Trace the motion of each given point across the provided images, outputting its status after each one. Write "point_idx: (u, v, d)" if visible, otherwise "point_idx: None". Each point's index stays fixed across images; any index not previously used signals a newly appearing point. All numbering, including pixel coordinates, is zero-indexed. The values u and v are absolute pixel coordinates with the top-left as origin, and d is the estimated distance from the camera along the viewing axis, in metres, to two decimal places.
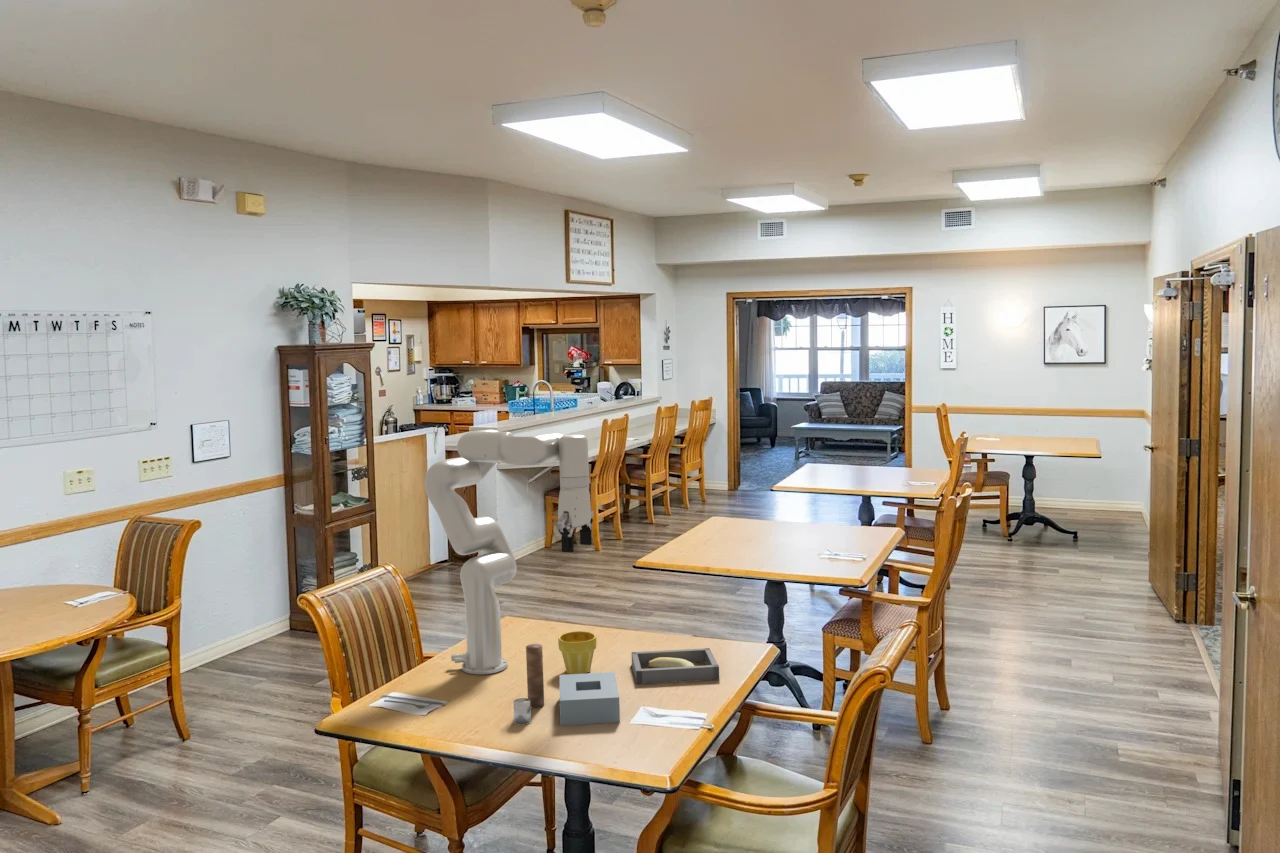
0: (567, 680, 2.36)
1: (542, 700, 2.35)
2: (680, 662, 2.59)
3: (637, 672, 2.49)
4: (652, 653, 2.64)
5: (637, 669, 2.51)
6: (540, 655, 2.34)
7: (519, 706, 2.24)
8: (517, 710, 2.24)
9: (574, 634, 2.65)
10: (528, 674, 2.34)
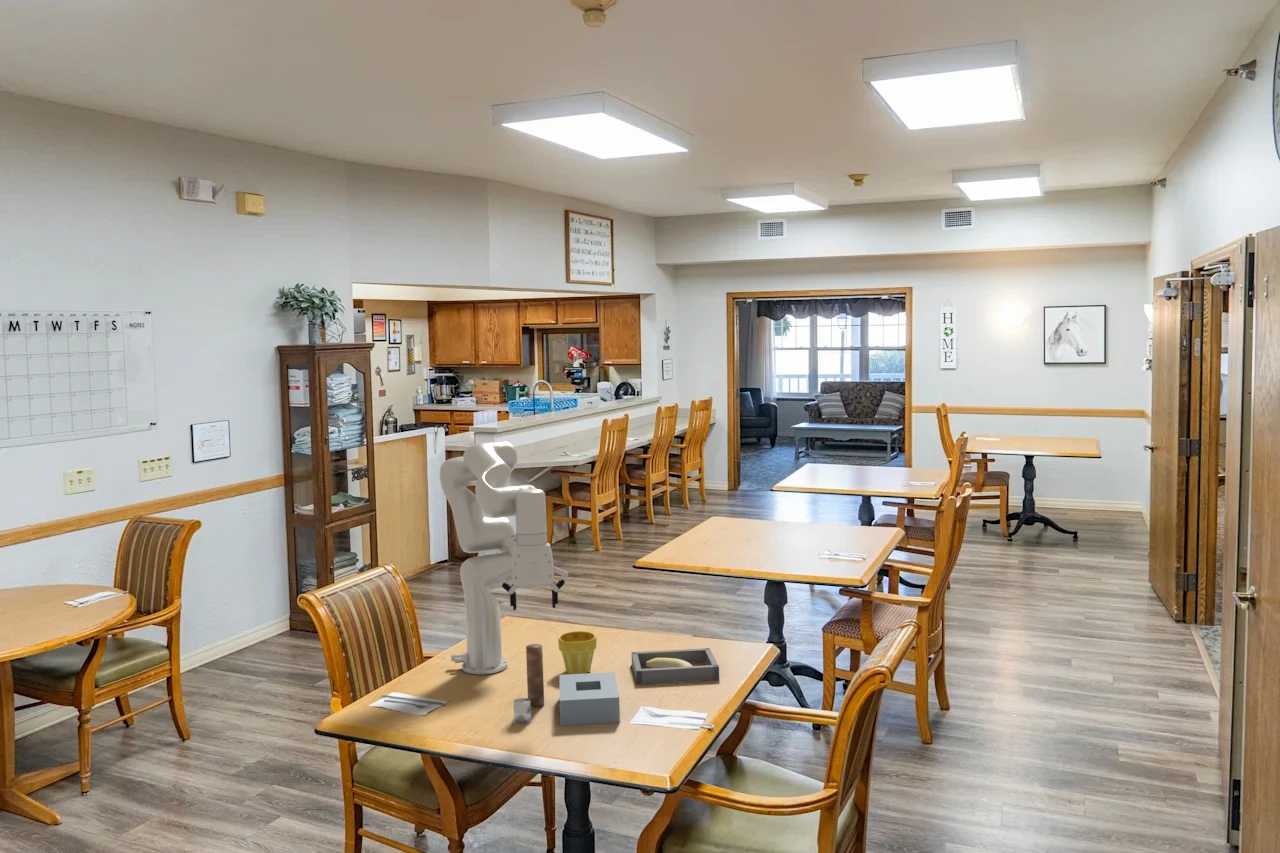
0: (567, 680, 2.36)
1: (542, 700, 2.35)
2: (678, 662, 2.58)
3: (637, 672, 2.49)
4: (652, 653, 2.64)
5: (637, 669, 2.51)
6: (540, 655, 2.34)
7: (519, 706, 2.24)
8: (517, 710, 2.24)
9: (574, 634, 2.65)
10: (528, 674, 2.34)
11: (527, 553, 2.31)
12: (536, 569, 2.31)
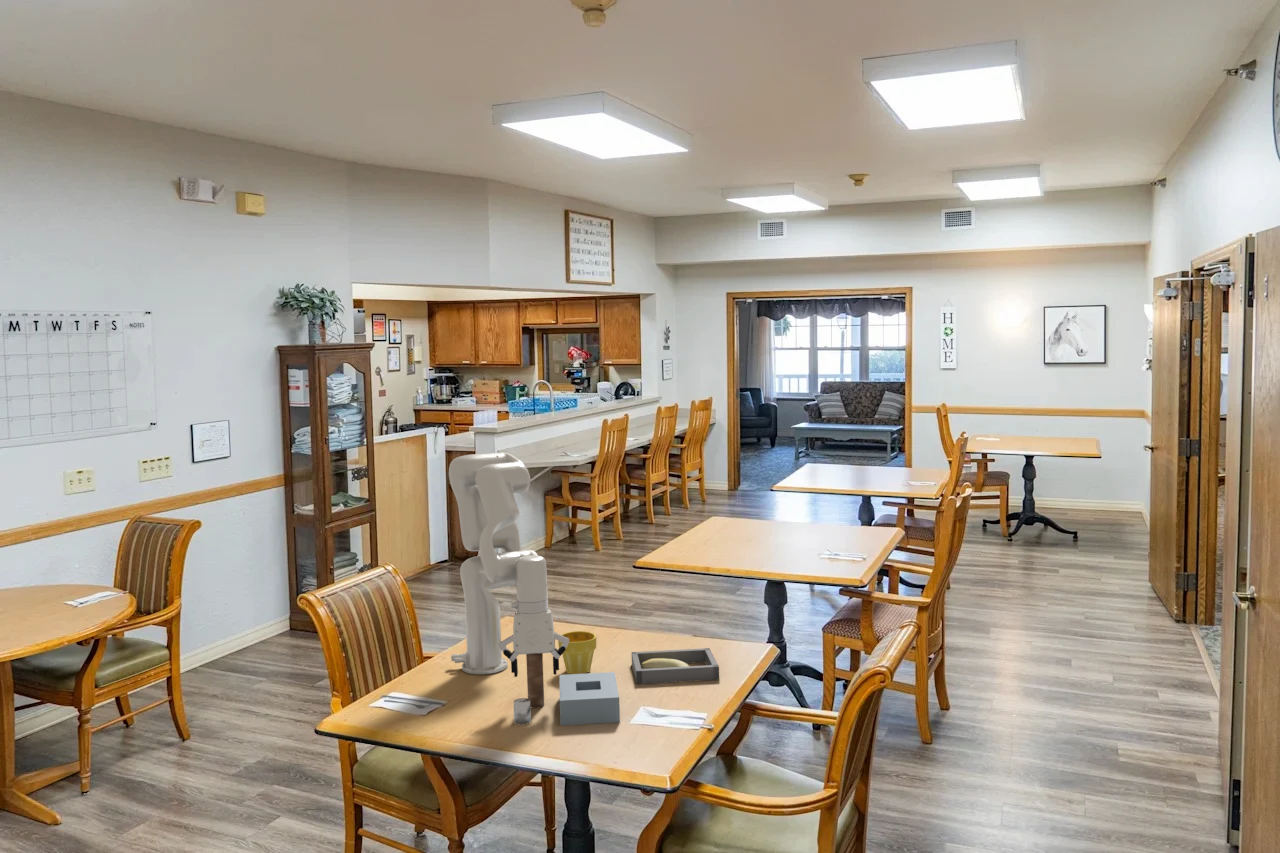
0: (567, 680, 2.36)
1: (542, 700, 2.35)
2: (674, 662, 2.58)
3: (637, 672, 2.49)
4: (652, 653, 2.64)
5: (637, 669, 2.51)
6: (540, 655, 2.34)
7: (519, 706, 2.24)
8: (517, 710, 2.24)
9: (574, 634, 2.65)
10: (528, 674, 2.34)
11: (528, 620, 2.32)
12: (537, 636, 2.32)
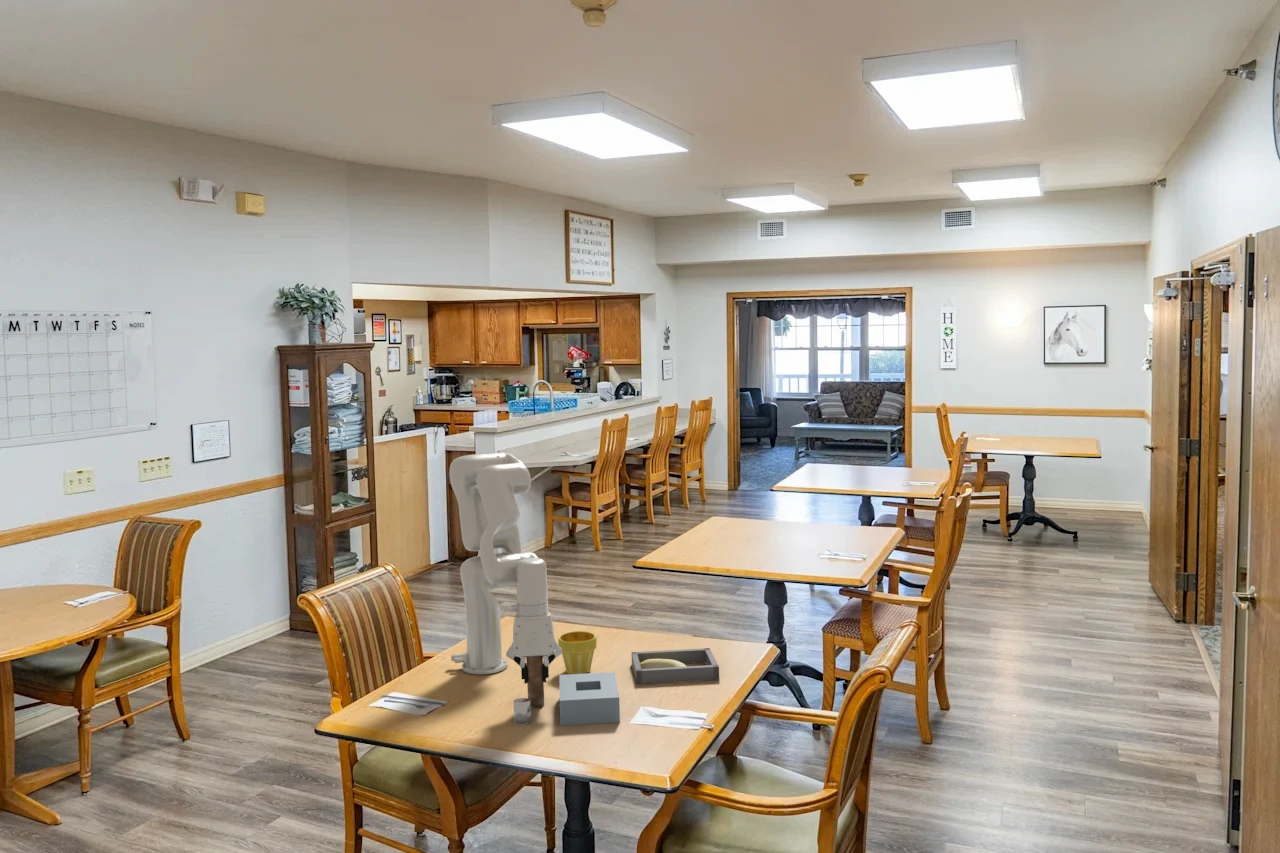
0: (567, 680, 2.36)
1: (542, 700, 2.35)
2: (672, 662, 2.58)
3: (637, 672, 2.49)
4: (652, 653, 2.64)
5: (637, 669, 2.51)
6: None
7: (519, 706, 2.24)
8: (517, 710, 2.24)
9: (574, 634, 2.65)
10: (528, 674, 2.34)
11: (528, 623, 2.32)
12: (537, 639, 2.32)
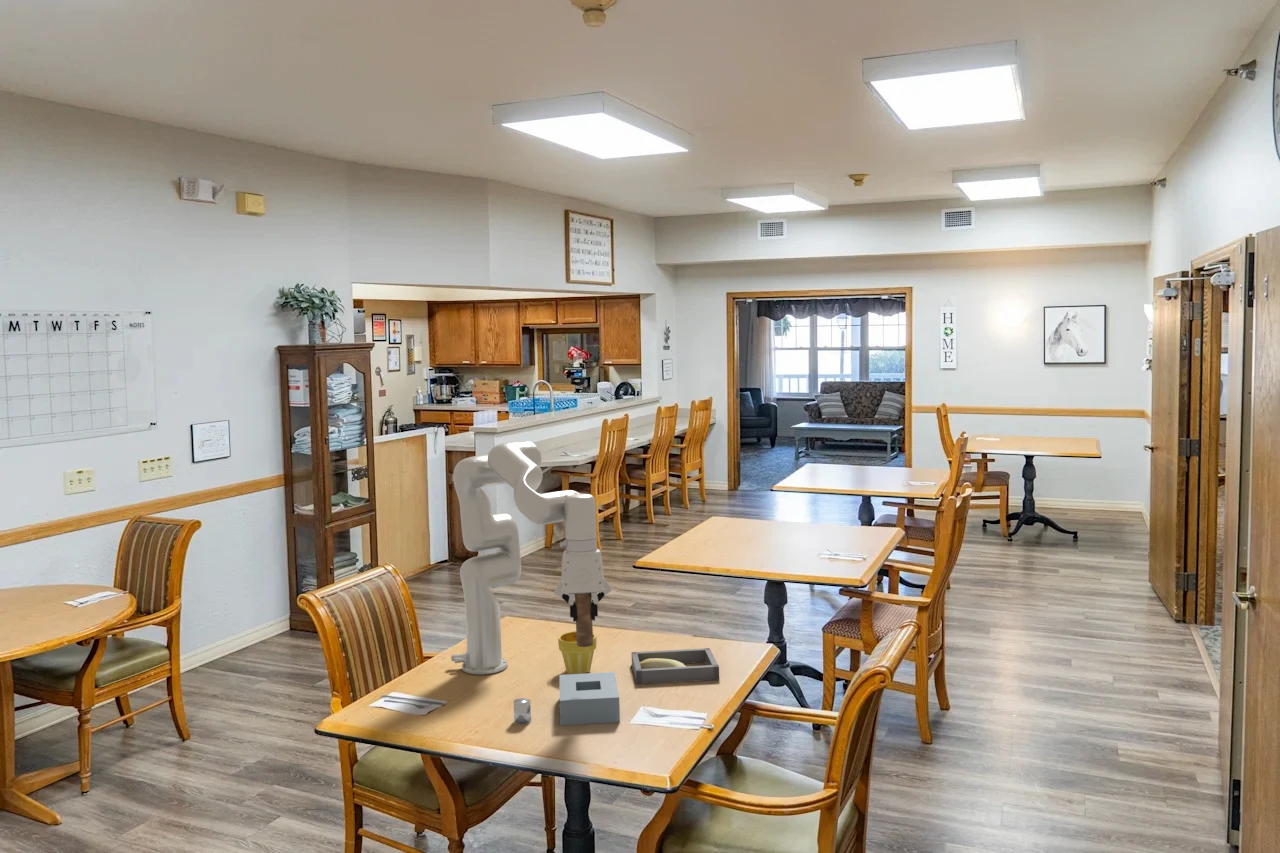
0: (567, 680, 2.36)
1: (591, 639, 2.30)
2: (671, 662, 2.58)
3: (637, 672, 2.49)
4: (652, 653, 2.64)
5: (637, 669, 2.51)
6: None
7: (519, 706, 2.24)
8: (517, 710, 2.24)
9: (574, 634, 2.65)
10: (577, 611, 2.29)
11: (577, 559, 2.27)
12: (586, 576, 2.27)
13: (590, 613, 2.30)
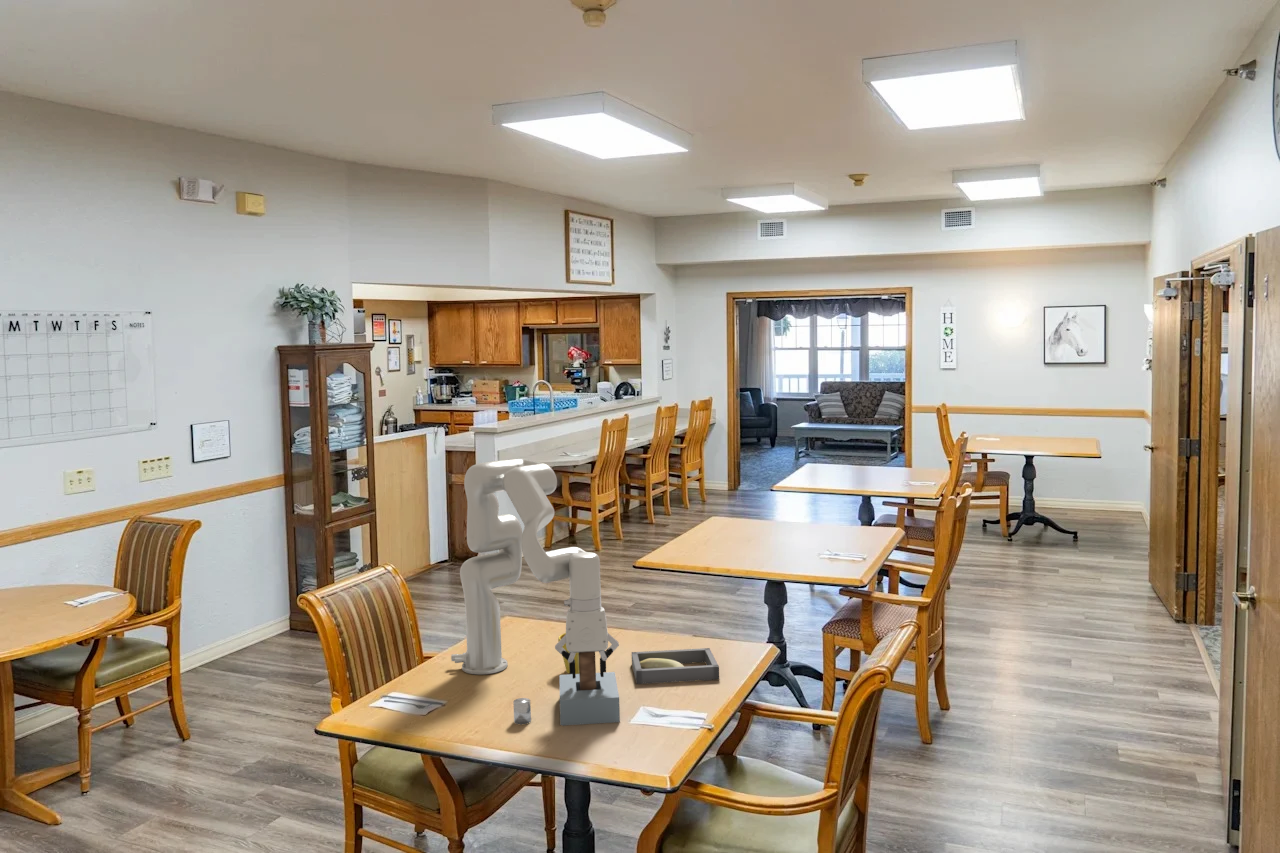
0: (567, 680, 2.36)
1: None
2: (670, 663, 2.58)
3: (637, 672, 2.49)
4: (652, 653, 2.64)
5: (637, 669, 2.51)
6: (593, 659, 2.30)
7: (519, 706, 2.24)
8: (517, 710, 2.24)
9: None
10: (581, 678, 2.31)
11: (582, 618, 2.28)
12: (590, 634, 2.28)
13: (594, 679, 2.31)
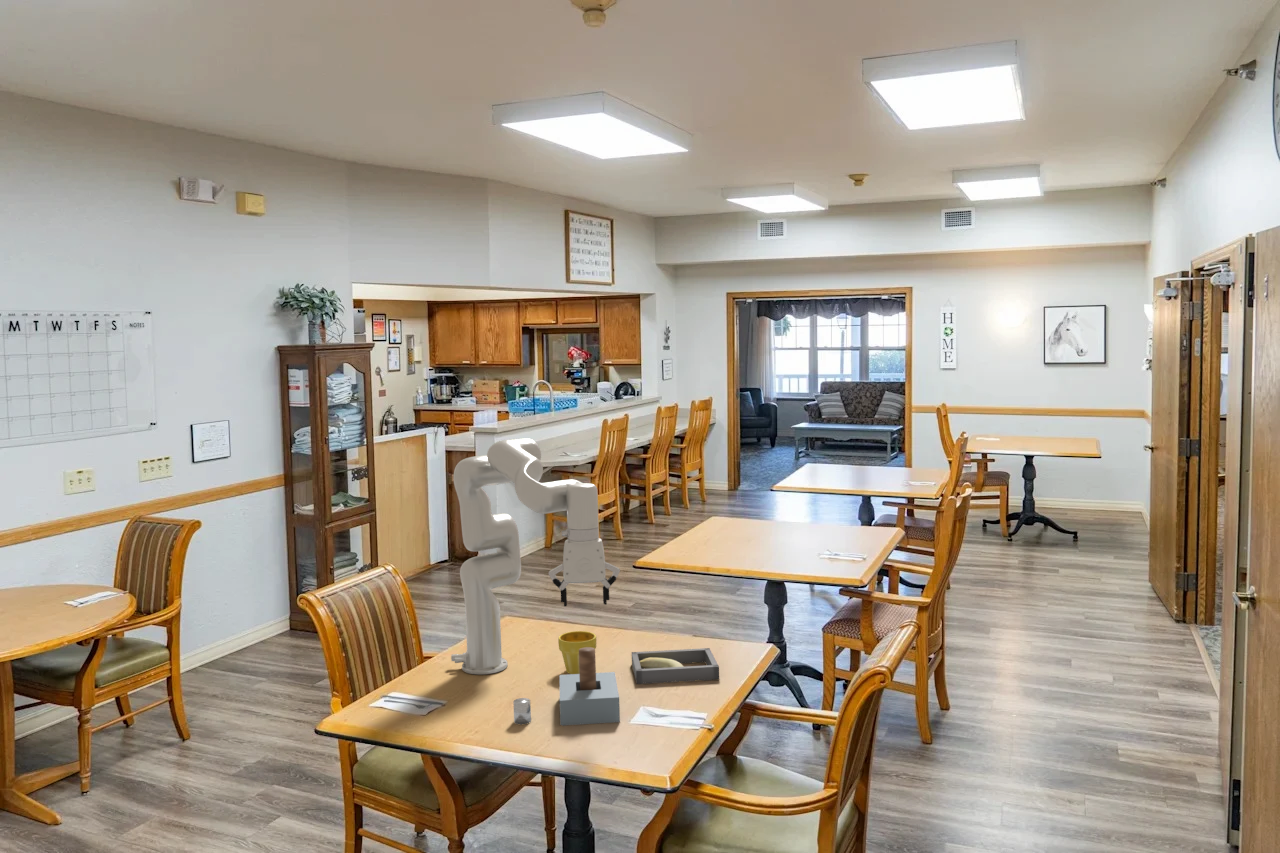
0: (567, 680, 2.36)
1: None
2: (670, 662, 2.58)
3: (637, 672, 2.49)
4: (652, 653, 2.64)
5: (637, 669, 2.51)
6: (593, 659, 2.30)
7: (519, 706, 2.24)
8: (517, 710, 2.24)
9: (574, 634, 2.65)
10: (581, 678, 2.31)
11: (579, 548, 2.27)
12: (588, 565, 2.27)
13: (594, 679, 2.31)
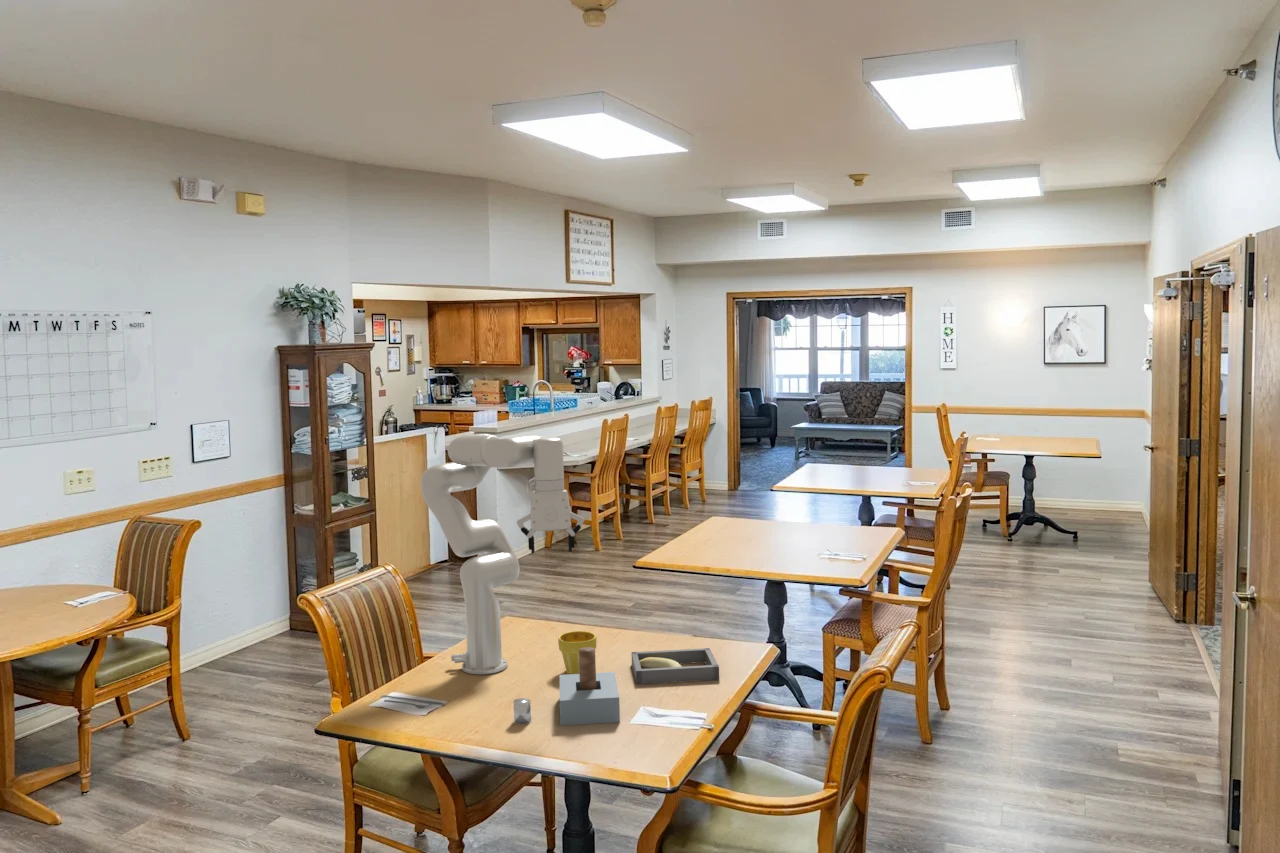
0: (567, 680, 2.36)
1: None
2: (669, 662, 2.58)
3: (637, 672, 2.49)
4: (652, 653, 2.64)
5: (637, 669, 2.51)
6: (593, 659, 2.30)
7: (519, 706, 2.24)
8: (517, 710, 2.24)
9: (574, 634, 2.65)
10: (581, 678, 2.31)
11: (545, 498, 2.41)
12: (553, 514, 2.42)
13: (594, 679, 2.31)
